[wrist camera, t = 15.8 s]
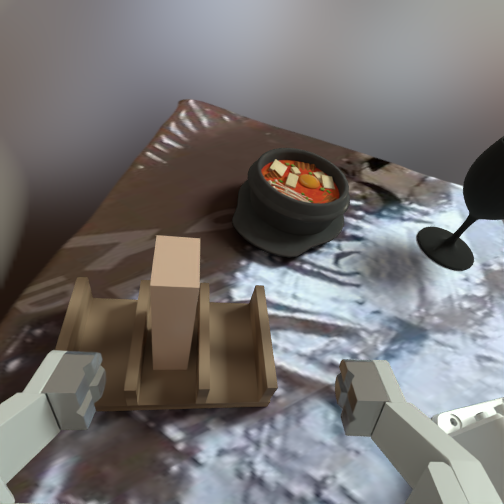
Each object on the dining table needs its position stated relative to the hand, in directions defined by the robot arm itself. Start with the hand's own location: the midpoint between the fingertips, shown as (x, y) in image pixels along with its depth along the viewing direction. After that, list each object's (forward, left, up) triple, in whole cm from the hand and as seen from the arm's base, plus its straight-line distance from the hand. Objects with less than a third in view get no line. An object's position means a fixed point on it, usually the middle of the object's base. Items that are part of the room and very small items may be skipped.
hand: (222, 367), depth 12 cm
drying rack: (-2, -12, -26) cm, 29 cm away
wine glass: (-53, -15, -26) cm, 62 cm away
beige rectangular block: (-2, -12, -24) cm, 28 cm away
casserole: (-28, -30, -26) cm, 49 cm away
